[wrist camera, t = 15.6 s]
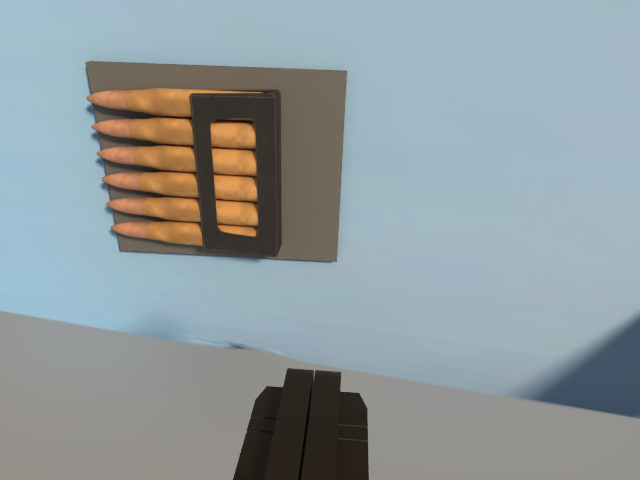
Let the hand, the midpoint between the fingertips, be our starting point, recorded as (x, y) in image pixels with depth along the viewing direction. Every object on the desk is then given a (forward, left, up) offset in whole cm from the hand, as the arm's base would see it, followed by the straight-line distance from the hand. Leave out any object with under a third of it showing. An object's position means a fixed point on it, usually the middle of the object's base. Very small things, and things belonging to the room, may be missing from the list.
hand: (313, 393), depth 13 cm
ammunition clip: (+3, 0, -18) cm, 18 cm away
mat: (+7, 0, -20) cm, 21 cm away
